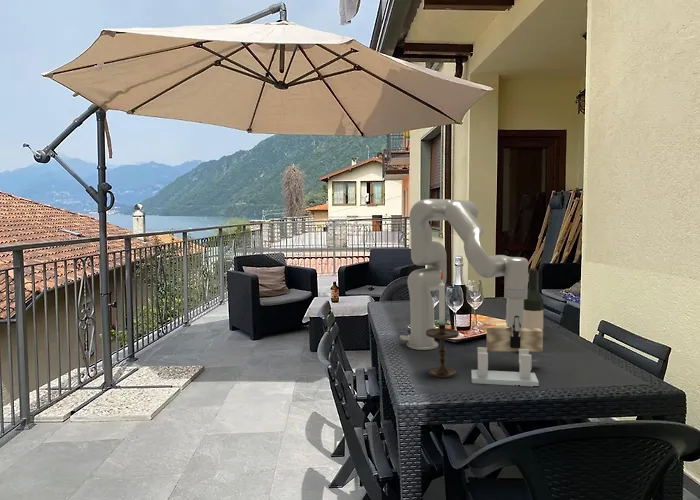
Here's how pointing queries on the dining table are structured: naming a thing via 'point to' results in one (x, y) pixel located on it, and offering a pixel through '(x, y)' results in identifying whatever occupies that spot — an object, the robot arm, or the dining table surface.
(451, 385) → the dining table surface
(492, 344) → the rail
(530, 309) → the wine bottle
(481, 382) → the cradle
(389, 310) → the dining table surface
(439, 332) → the candlestick
